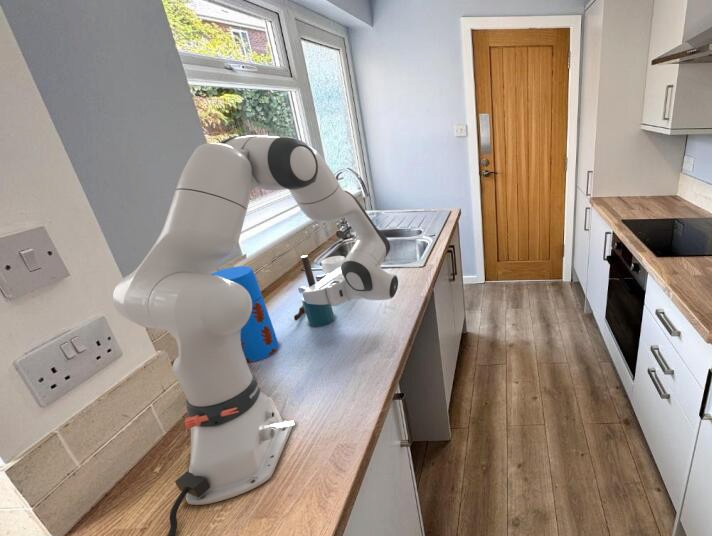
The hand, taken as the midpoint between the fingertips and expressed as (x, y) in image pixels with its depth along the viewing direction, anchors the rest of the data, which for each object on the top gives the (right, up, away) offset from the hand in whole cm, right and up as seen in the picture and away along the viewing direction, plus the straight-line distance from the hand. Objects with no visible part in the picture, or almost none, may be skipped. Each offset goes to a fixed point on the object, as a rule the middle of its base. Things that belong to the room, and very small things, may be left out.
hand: (309, 283), depth 129 cm
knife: (-8, -10, +12) cm, 17 cm away
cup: (-2, -2, +29) cm, 29 cm away
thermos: (-10, -20, -10) cm, 25 cm away
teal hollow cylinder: (+1, -12, +6) cm, 14 cm away
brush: (+2, -11, +5) cm, 13 cm away
